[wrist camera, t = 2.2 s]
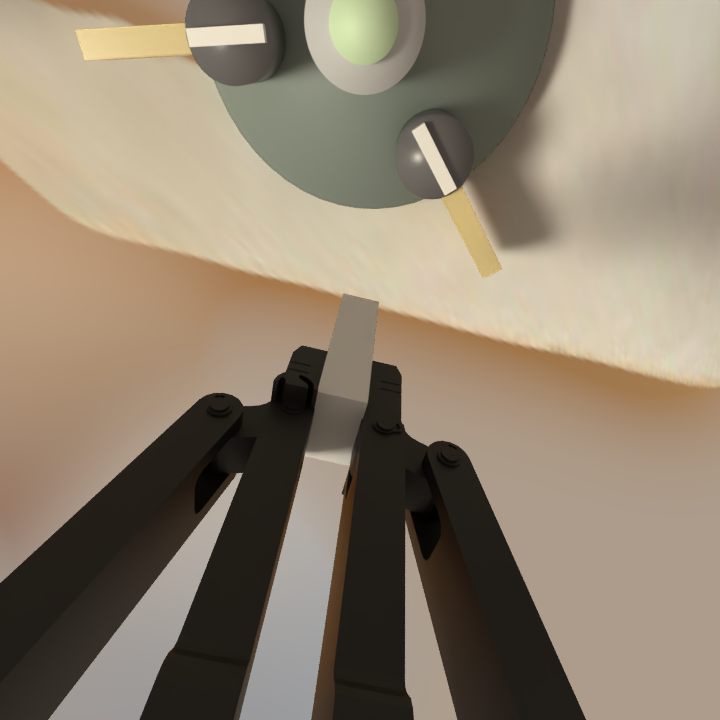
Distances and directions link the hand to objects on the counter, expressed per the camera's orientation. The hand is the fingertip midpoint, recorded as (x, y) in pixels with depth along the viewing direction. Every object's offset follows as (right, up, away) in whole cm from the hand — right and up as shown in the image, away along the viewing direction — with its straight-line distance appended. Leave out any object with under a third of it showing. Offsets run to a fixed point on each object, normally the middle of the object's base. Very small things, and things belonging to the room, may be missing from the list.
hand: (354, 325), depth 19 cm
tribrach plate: (+1, +16, +5) cm, 17 cm away
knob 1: (-8, +15, +5) cm, 18 cm away
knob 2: (+6, +9, +8) cm, 13 cm away
